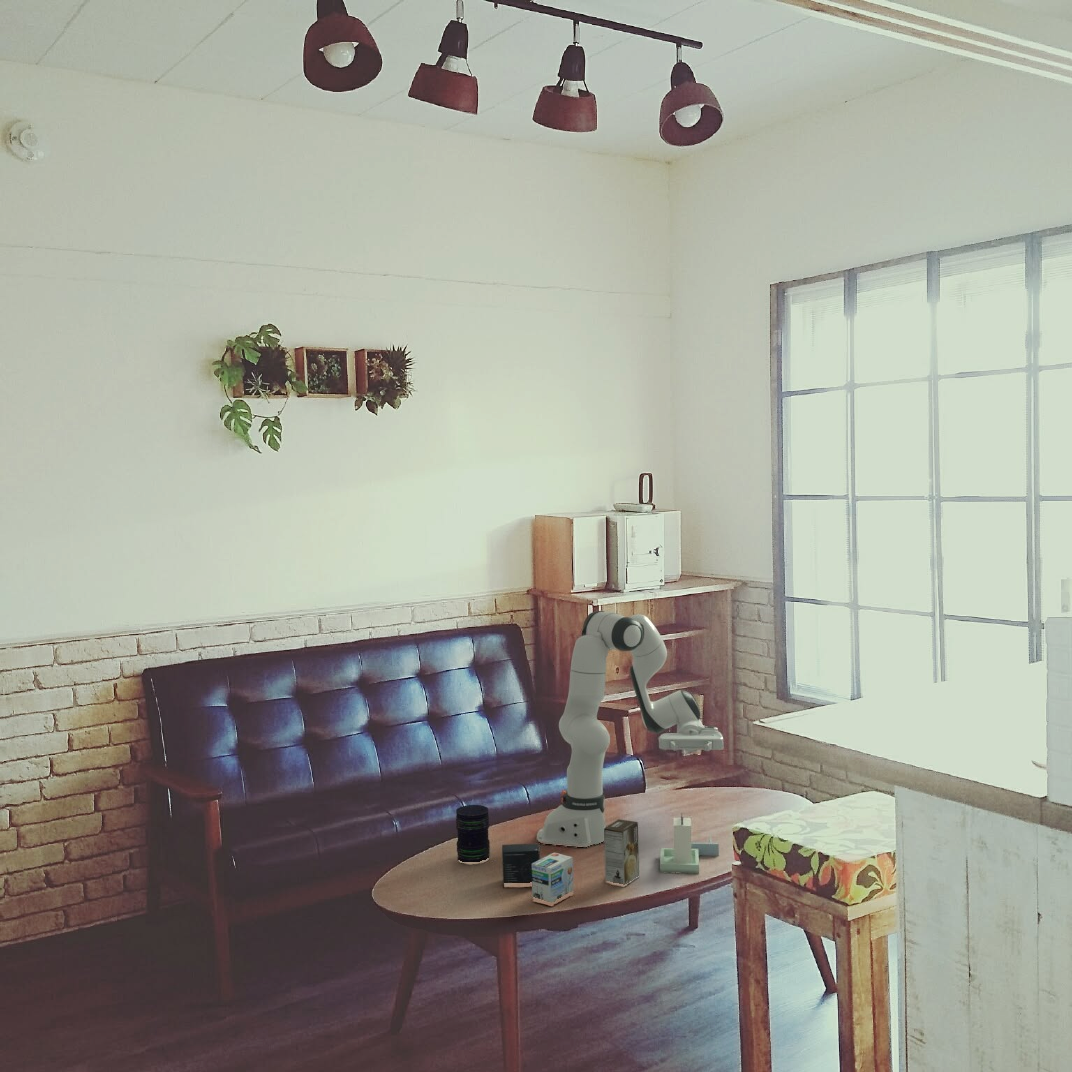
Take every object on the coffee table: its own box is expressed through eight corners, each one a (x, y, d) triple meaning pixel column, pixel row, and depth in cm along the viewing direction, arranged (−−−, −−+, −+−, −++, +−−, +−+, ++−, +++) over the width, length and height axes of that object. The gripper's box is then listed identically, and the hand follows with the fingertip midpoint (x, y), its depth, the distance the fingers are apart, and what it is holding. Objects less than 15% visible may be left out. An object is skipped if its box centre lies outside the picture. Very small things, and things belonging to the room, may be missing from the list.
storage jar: (455, 865, 331) (453, 815, 329) (458, 853, 340) (457, 805, 339) (489, 864, 330) (487, 815, 329) (491, 852, 340) (490, 804, 339)
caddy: (674, 866, 323) (673, 819, 322) (674, 857, 330) (673, 811, 329) (691, 866, 323) (691, 819, 322) (691, 857, 330) (690, 811, 329)
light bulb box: (551, 908, 298) (550, 868, 297) (531, 902, 302) (530, 863, 301) (574, 895, 306) (573, 856, 306) (554, 889, 311) (553, 851, 310)
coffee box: (619, 873, 321) (618, 818, 320) (639, 877, 318) (638, 821, 317) (604, 884, 314) (603, 827, 312) (625, 888, 310) (624, 831, 309)
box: (540, 878, 319) (539, 842, 318) (540, 887, 312) (540, 851, 311) (503, 879, 319) (502, 843, 318) (502, 888, 312) (501, 852, 311)
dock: (681, 854, 334) (681, 843, 334) (681, 844, 343) (681, 833, 343) (718, 855, 333) (718, 844, 333) (717, 845, 341) (717, 834, 341)
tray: (660, 872, 321) (660, 864, 321) (660, 856, 334) (660, 848, 334) (699, 873, 320) (699, 864, 319) (698, 857, 332) (698, 848, 332)
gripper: (658, 727, 363) (657, 738, 349) (722, 727, 360) (724, 738, 346) (658, 746, 363) (657, 758, 349) (722, 746, 361) (724, 758, 347)
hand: (691, 748), depth 348 cm, fingers open, 8 cm apart
